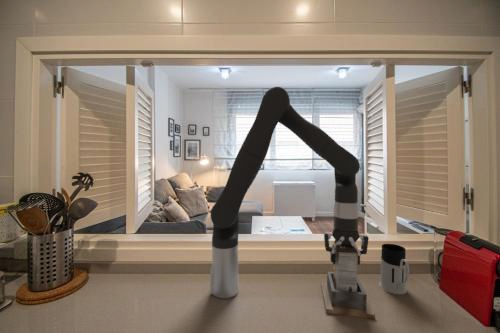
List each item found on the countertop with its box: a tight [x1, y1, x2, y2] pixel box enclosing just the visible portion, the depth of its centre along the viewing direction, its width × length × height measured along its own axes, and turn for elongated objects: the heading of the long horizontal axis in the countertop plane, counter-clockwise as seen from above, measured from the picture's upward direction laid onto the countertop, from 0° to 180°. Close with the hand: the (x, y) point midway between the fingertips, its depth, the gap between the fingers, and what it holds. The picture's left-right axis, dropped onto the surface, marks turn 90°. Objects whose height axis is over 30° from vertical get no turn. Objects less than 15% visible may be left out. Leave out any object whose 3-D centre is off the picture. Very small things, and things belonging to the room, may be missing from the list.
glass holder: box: [378, 243, 410, 295], centre depth 84 cm, size 9×14×15 cm, turn 174°
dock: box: [320, 271, 376, 320], centre depth 80 cm, size 14×16×6 cm
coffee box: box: [332, 245, 359, 292], centre depth 79 cm, size 9×6×16 cm
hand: (344, 264), depth 79 cm, fingers closed on coffee box, 6 cm apart
